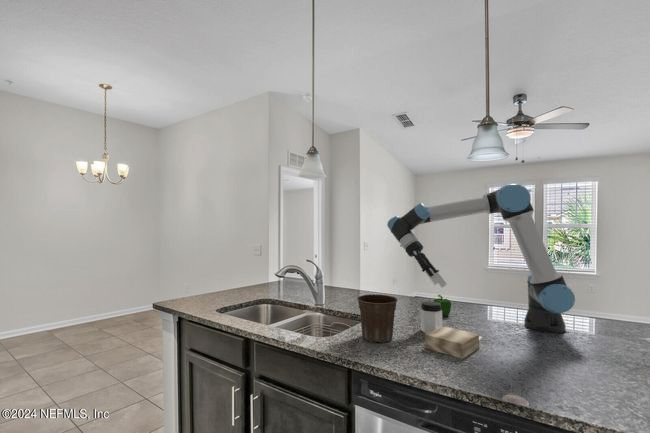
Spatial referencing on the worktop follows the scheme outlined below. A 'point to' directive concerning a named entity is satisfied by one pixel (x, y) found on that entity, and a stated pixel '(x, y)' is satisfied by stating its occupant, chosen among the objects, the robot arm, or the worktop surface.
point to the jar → (430, 316)
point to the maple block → (452, 341)
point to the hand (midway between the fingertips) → (441, 284)
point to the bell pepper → (444, 305)
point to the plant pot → (377, 317)
